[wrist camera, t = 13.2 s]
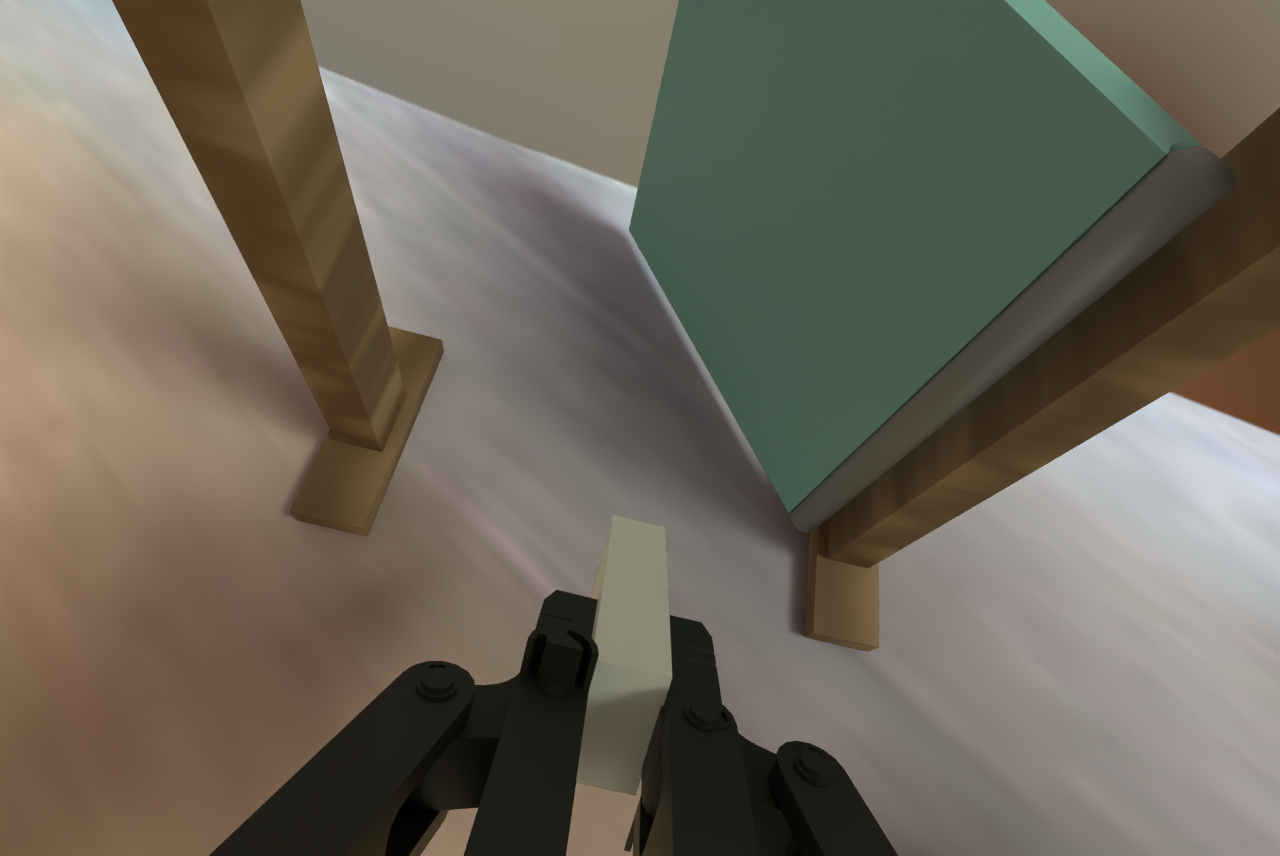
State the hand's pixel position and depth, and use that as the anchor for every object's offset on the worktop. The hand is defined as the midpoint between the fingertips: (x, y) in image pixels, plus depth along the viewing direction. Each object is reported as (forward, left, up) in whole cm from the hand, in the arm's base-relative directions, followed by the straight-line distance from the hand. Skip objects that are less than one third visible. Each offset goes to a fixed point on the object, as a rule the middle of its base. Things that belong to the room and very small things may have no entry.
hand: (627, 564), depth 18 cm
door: (+1, -15, -9) cm, 18 cm away
